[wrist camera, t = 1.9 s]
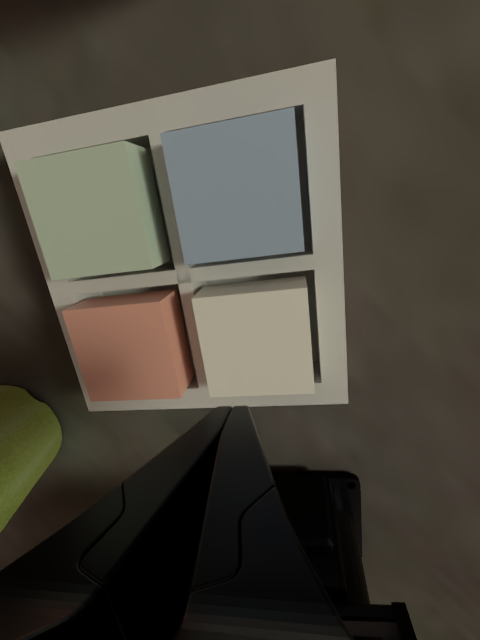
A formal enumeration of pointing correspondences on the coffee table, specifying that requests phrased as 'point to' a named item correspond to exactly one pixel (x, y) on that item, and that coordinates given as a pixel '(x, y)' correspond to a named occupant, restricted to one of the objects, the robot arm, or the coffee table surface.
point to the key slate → (236, 187)
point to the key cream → (256, 337)
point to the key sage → (95, 210)
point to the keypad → (315, 262)
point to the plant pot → (23, 446)
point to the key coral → (131, 346)
